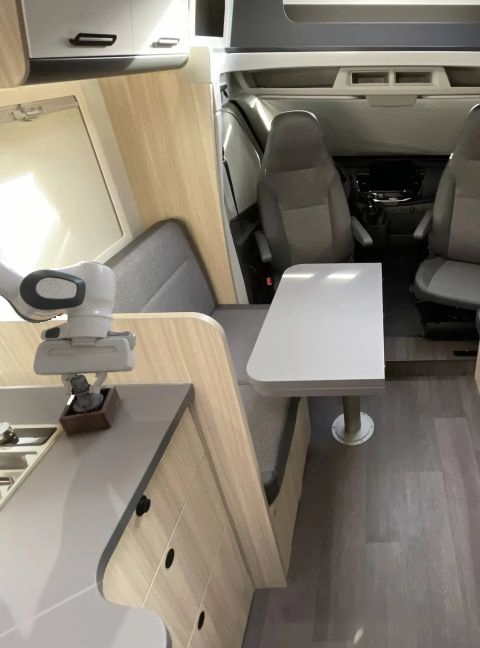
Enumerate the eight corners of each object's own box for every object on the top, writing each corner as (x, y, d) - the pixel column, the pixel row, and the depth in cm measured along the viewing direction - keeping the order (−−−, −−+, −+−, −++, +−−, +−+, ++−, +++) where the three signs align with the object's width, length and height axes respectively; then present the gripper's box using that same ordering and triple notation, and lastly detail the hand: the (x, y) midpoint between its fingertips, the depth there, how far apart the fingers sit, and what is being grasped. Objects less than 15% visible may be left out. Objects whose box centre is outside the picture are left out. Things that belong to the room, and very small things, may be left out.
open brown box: (66, 435, 97) (58, 419, 94) (80, 406, 104) (73, 391, 102) (110, 427, 99) (103, 412, 96) (121, 400, 106) (114, 385, 104)
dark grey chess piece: (109, 415, 100) (91, 375, 94) (79, 427, 98) (59, 386, 91) (106, 400, 105) (89, 361, 98) (77, 410, 102) (58, 371, 96)
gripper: (142, 332, 104) (137, 392, 101) (52, 336, 103) (44, 397, 100) (129, 328, 98) (123, 391, 95) (33, 332, 97) (23, 396, 93)
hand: (82, 394), depth 97 cm, fingers closed on dark grey chess piece, 4 cm apart
